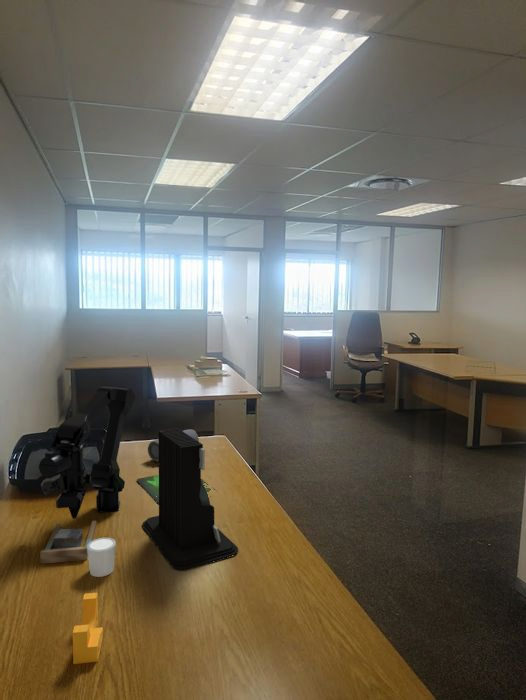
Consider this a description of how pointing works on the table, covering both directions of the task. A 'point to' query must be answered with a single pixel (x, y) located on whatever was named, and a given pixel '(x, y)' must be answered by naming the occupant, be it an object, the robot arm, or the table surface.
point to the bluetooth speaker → (154, 445)
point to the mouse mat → (155, 486)
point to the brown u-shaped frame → (66, 549)
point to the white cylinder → (101, 556)
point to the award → (185, 506)
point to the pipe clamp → (88, 632)
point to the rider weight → (68, 538)
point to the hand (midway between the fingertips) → (74, 518)
